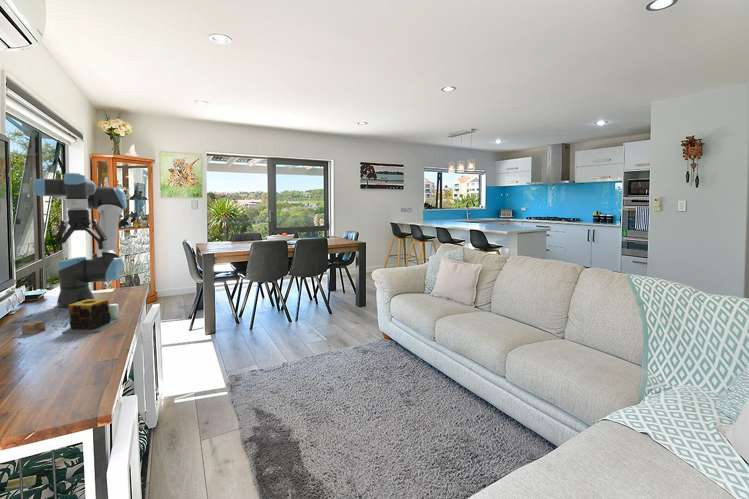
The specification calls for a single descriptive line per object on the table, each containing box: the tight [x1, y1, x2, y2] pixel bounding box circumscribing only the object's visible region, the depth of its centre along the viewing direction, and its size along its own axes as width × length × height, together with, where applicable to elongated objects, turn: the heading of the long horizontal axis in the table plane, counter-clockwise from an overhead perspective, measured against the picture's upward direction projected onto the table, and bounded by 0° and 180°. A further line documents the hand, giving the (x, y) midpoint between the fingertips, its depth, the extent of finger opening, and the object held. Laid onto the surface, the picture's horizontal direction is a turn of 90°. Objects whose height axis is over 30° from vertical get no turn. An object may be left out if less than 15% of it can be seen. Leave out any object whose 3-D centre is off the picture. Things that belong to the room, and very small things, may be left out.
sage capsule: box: [109, 303, 120, 320], centre depth 178 cm, size 4×4×6 cm
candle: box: [68, 298, 111, 329], centre depth 166 cm, size 10×10×10 cm
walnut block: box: [20, 320, 46, 336], centre depth 161 cm, size 5×5×4 cm
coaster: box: [61, 319, 119, 334], centre depth 167 cm, size 14×14×1 cm
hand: (83, 257), depth 179 cm, fingers open, 13 cm apart
